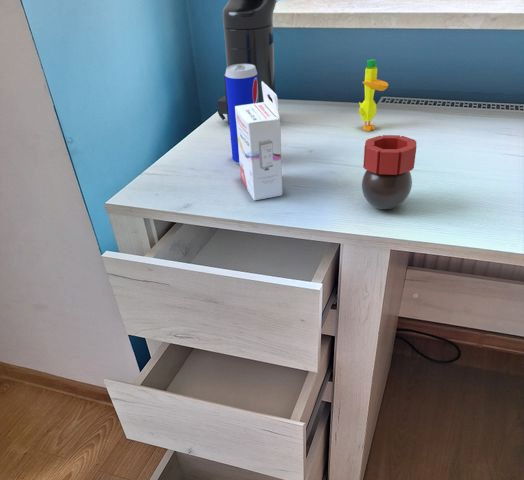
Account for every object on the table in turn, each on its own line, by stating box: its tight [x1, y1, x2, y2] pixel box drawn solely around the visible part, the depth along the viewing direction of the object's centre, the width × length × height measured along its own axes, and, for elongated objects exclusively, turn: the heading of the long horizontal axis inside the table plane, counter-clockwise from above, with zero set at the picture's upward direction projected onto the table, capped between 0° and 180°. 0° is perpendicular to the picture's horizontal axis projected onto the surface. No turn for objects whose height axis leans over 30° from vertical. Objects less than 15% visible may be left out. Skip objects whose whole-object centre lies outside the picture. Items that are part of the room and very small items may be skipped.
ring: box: [362, 134, 417, 175], centre depth 71 cm, size 7×7×3 cm
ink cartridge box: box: [235, 81, 283, 201], centre depth 78 cm, size 9×5×15 cm, turn 17°
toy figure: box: [358, 58, 389, 132], centre depth 97 cm, size 7×4×12 cm, turn 37°
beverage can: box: [225, 64, 259, 166], centre depth 87 cm, size 5×5×15 cm
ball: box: [361, 169, 413, 210], centre depth 74 cm, size 7×7×7 cm
